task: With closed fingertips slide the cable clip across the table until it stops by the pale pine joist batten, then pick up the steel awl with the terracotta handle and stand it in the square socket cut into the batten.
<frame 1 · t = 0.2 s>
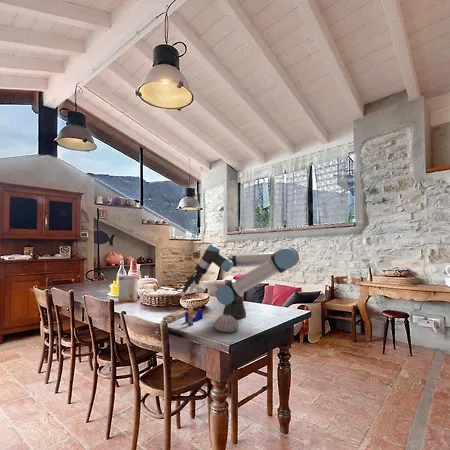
hand: (186, 293, 189), 15 cm above the table, tool tilted 35°, fingers open, 13 cm apart
joist batten: (175, 318, 183), on the table
awl: (190, 325, 169), on the table
cable clip: (195, 321, 180), on the table
sea urchin shell: (226, 330, 160), on the table
cracker box: (127, 301, 242), on the table
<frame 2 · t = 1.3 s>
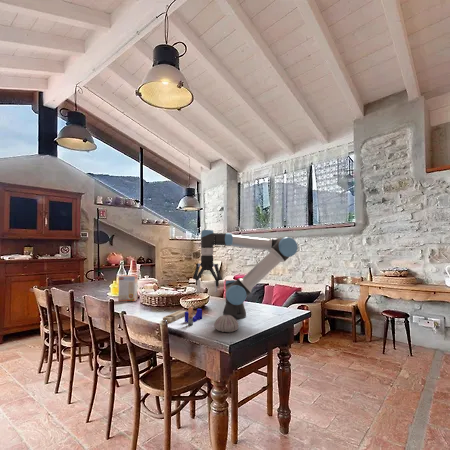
hand: (207, 291, 178), 18 cm above the table, tool pointing down, fingers open, 11 cm apart
nothing on the table moved.
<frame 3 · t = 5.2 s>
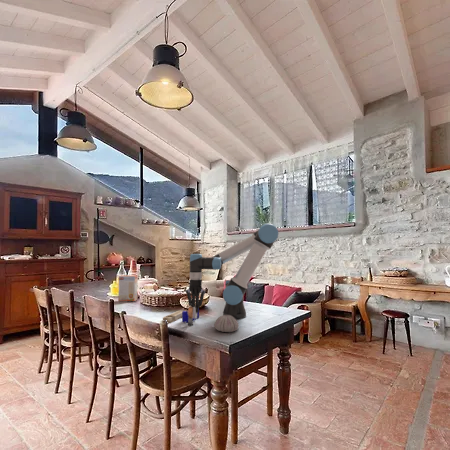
hand: (195, 317, 180), 2 cm above the table, tool pointing down, fingers closed
cable clip: (191, 320, 181), on the table, touching gripper
everything else where it was.
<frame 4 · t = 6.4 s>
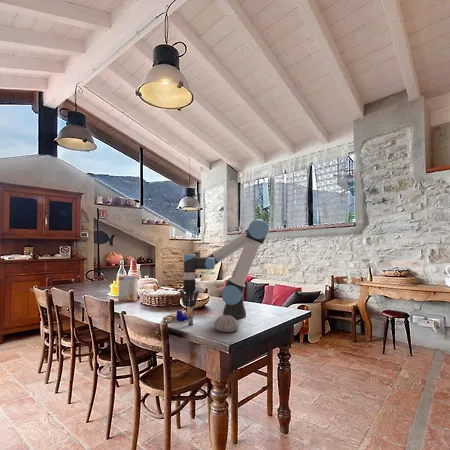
hand: (189, 317, 181), 1 cm above the table, tool pointing down, fingers closed
cable clip: (186, 319, 183), on the table
everything else where it was.
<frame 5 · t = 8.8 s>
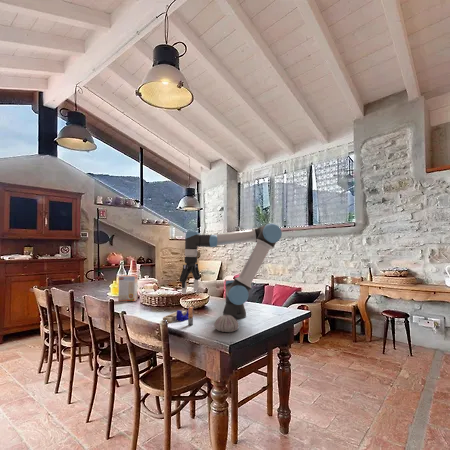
hand: (189, 292, 176), 18 cm above the table, tool pointing down, fingers open, 13 cm apart
nothing on the table moved.
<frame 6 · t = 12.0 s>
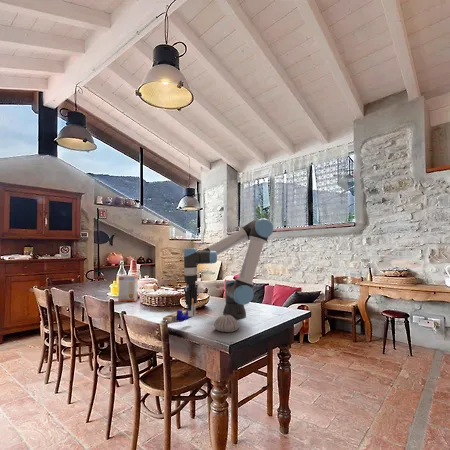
hand: (191, 315, 170), 5 cm above the table, tool pointing down, fingers closed on awl, 3 cm apart
awl: (191, 316, 170), point 5 cm above the table, touching gripper
when the fingers open (4 cm above the table, at t = 16.2 s): awl drops 3 cm, resting in joist batten.
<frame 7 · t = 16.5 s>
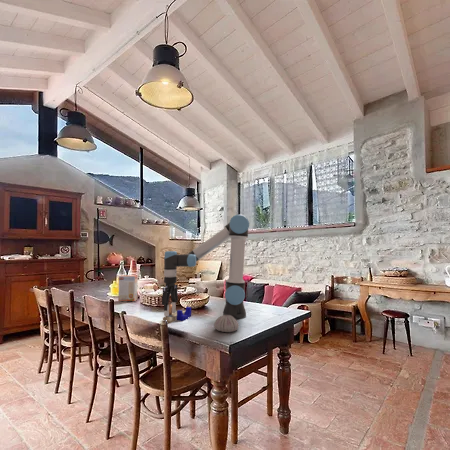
hand: (170, 314, 178), 4 cm above the table, tool pointing down, fingers open, 7 cm apart
awl: (169, 321, 178), resting in joist batten
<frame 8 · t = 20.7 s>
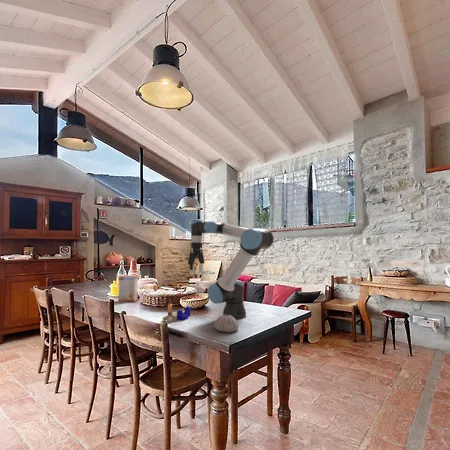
hand: (196, 274, 197), 27 cm above the table, tool pointing down, fingers open, 13 cm apart
at the end: cable clip inside the target area (3.1 cm from its centre), on the table; awl 0.1 cm from the target spot, resting in joist batten; awl tilted 1° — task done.
